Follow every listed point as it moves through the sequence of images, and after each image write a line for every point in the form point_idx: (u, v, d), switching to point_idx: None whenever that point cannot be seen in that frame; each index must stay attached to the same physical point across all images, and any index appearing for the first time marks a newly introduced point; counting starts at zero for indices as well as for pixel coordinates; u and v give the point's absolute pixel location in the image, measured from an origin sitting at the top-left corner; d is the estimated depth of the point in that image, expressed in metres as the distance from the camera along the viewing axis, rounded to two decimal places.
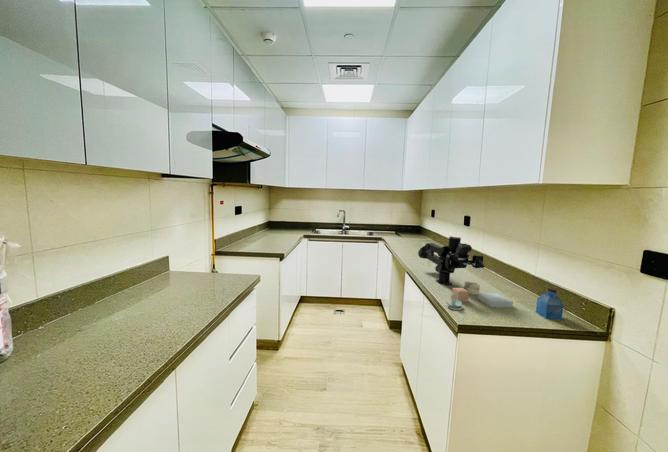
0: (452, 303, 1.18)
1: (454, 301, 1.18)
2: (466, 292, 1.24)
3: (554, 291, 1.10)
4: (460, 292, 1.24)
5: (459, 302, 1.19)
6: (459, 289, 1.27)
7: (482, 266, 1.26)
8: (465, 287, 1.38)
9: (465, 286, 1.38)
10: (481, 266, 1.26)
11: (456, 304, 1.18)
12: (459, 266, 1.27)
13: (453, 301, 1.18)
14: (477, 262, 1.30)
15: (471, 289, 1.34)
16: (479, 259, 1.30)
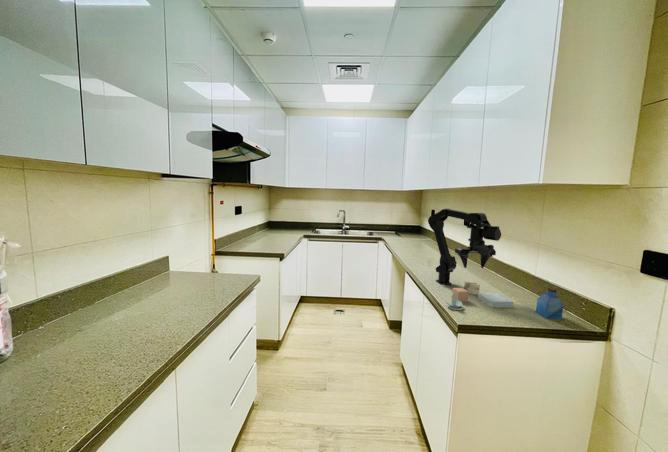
0: (452, 303, 1.18)
1: (454, 301, 1.18)
2: (466, 292, 1.24)
3: (554, 291, 1.10)
4: (460, 292, 1.24)
5: (459, 302, 1.19)
6: (459, 289, 1.27)
7: (481, 266, 1.36)
8: (465, 287, 1.38)
9: (465, 286, 1.38)
10: (481, 264, 1.36)
11: (456, 304, 1.18)
12: (462, 261, 1.35)
13: (453, 301, 1.17)
14: (484, 257, 1.35)
15: (471, 289, 1.34)
16: (488, 258, 1.34)
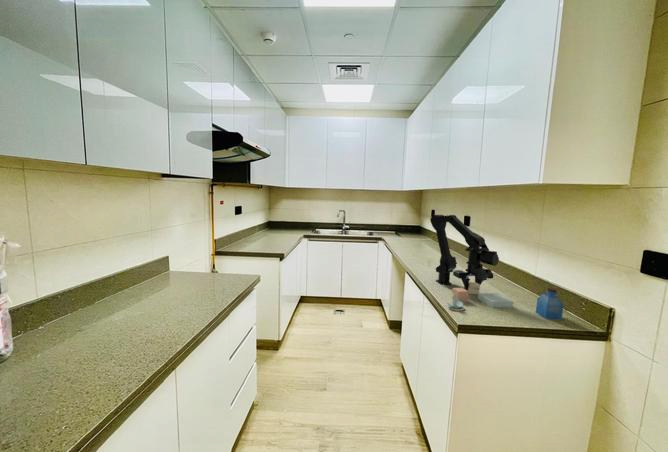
0: (453, 304, 1.17)
1: (455, 302, 1.17)
2: (466, 292, 1.24)
3: (554, 291, 1.10)
4: (460, 292, 1.24)
5: (460, 303, 1.18)
6: (459, 289, 1.27)
7: None
8: None
9: None
10: None
11: (457, 305, 1.18)
12: (464, 283, 1.37)
13: (454, 302, 1.17)
14: (478, 280, 1.36)
15: (471, 289, 1.34)
16: (482, 281, 1.35)
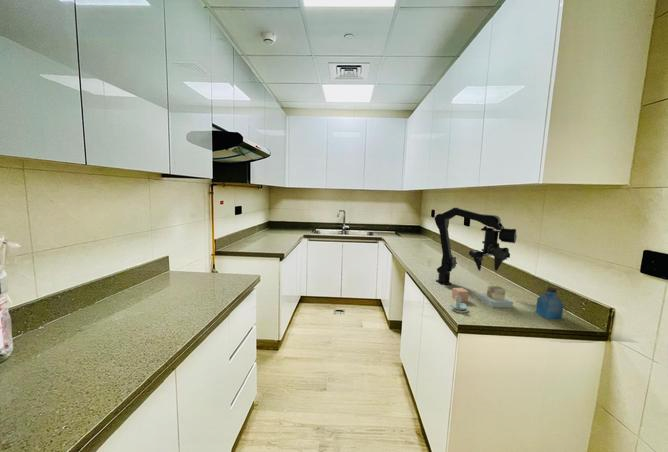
0: (457, 306, 1.15)
1: (459, 303, 1.15)
2: (466, 292, 1.24)
3: (554, 291, 1.10)
4: (460, 292, 1.24)
5: (464, 305, 1.16)
6: (459, 289, 1.27)
7: (495, 268, 1.36)
8: (488, 292, 1.25)
9: (488, 291, 1.25)
10: (495, 267, 1.36)
11: (461, 307, 1.16)
12: (476, 263, 1.35)
13: (458, 303, 1.15)
14: (498, 260, 1.35)
15: (496, 294, 1.21)
16: (502, 260, 1.34)
